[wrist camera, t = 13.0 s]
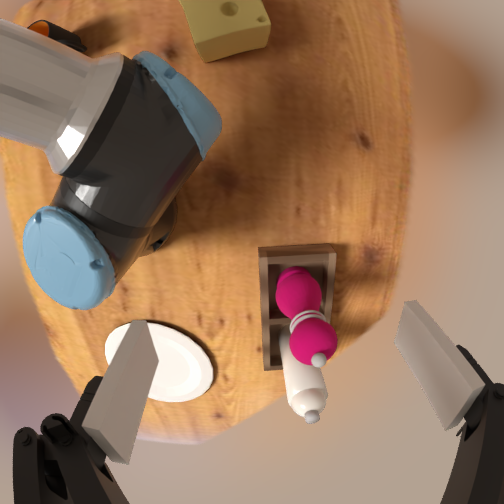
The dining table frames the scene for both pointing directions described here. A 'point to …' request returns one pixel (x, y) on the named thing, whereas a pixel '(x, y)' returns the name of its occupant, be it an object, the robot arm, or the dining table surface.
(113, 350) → the plate
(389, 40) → the dining table surface
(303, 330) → the pepper mill
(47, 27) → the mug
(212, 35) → the cheese
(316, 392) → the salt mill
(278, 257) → the wooden compartment tray
